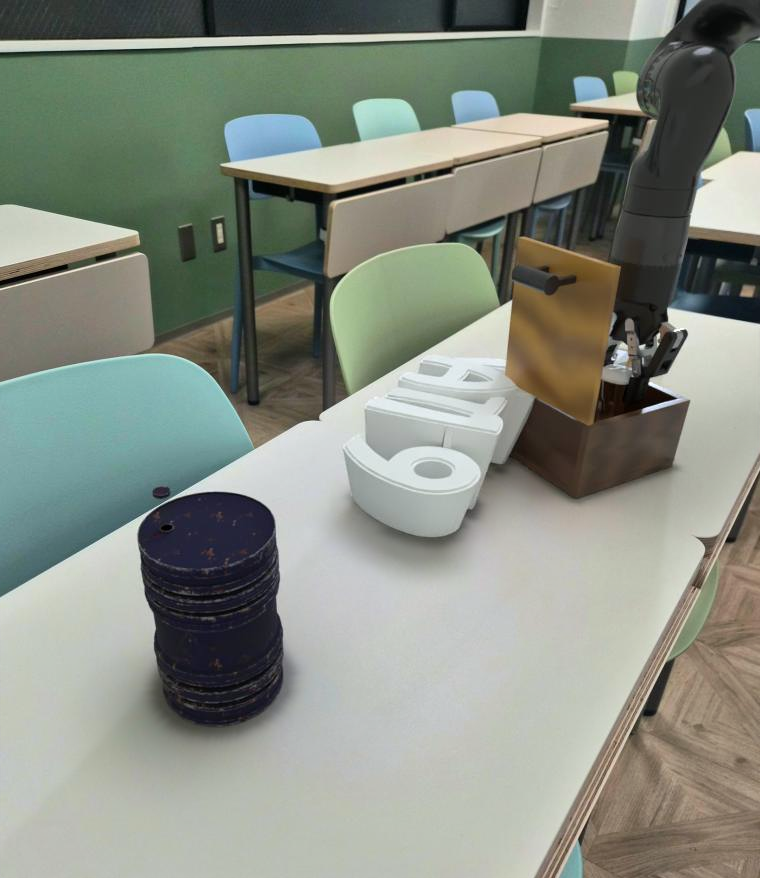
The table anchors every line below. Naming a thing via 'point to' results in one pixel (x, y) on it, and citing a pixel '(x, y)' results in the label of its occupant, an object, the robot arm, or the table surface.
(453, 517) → the white letter sign
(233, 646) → the navy speckled cylinder
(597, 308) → the lid
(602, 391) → the milkshake
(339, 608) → the table surface
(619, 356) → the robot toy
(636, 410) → the brown wooden box
